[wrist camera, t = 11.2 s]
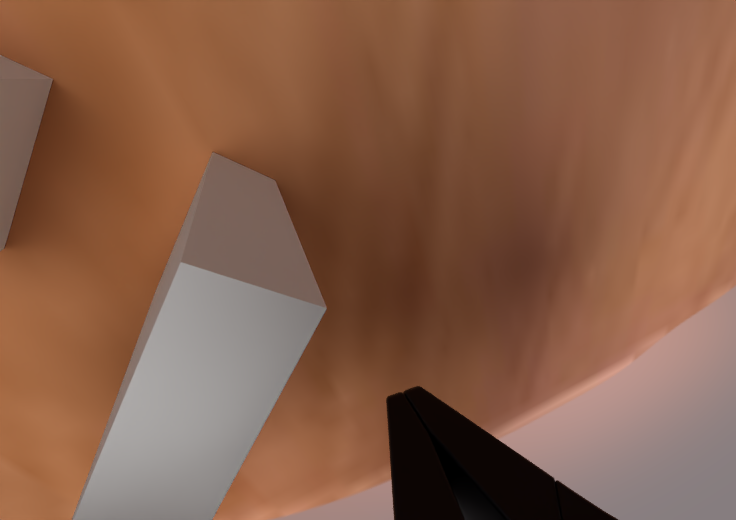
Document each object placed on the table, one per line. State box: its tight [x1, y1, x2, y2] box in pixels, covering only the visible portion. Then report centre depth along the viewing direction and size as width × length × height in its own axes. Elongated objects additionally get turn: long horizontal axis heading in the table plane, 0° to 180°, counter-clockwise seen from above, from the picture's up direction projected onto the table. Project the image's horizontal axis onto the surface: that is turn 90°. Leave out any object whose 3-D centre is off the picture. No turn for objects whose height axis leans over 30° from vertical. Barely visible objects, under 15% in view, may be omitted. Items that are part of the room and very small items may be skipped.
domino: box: [72, 152, 327, 520], centre depth 9 cm, size 2×5×8 cm, turn 151°
